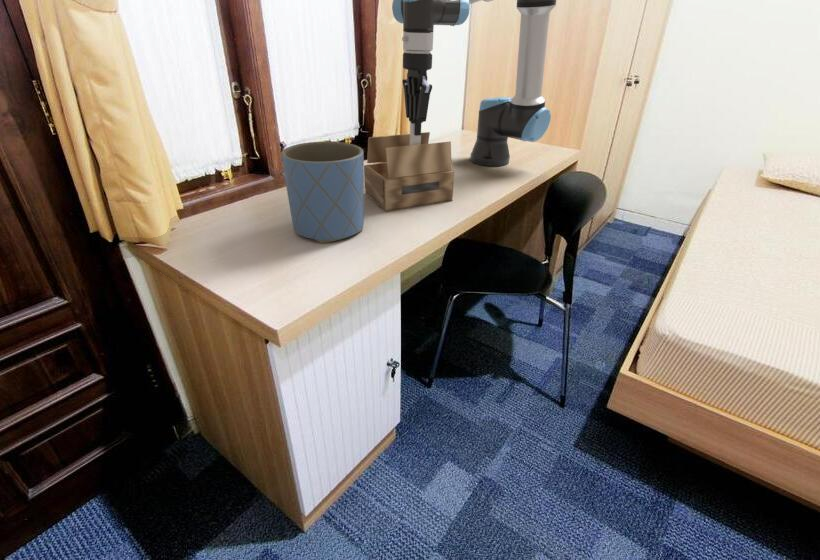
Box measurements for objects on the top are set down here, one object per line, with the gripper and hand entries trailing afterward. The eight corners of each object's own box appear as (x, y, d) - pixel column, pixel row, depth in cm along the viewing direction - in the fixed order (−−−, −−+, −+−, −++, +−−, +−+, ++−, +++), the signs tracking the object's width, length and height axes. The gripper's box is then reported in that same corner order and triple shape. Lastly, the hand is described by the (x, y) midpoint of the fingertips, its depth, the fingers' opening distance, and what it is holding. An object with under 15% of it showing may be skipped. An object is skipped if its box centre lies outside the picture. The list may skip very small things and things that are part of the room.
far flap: (426, 156, 138) (425, 156, 139) (429, 132, 133) (429, 132, 133) (367, 163, 131) (367, 162, 131) (368, 138, 125) (368, 137, 126)
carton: (428, 184, 144) (430, 157, 139) (453, 200, 132) (456, 171, 127) (363, 193, 135) (362, 165, 131) (384, 212, 123) (383, 181, 118)
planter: (381, 230, 112) (380, 152, 102) (319, 252, 101) (310, 167, 91) (337, 209, 124) (332, 137, 114) (277, 227, 112) (265, 149, 102)
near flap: (450, 141, 124) (450, 141, 123) (451, 170, 126) (451, 170, 126) (385, 148, 116) (386, 148, 116) (388, 178, 119) (388, 178, 118)
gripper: (393, 50, 113) (393, 142, 126) (415, 53, 103) (413, 153, 116) (419, 50, 116) (416, 140, 128) (443, 53, 106) (438, 150, 118)
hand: (415, 146), depth 122 cm, fingers closed
